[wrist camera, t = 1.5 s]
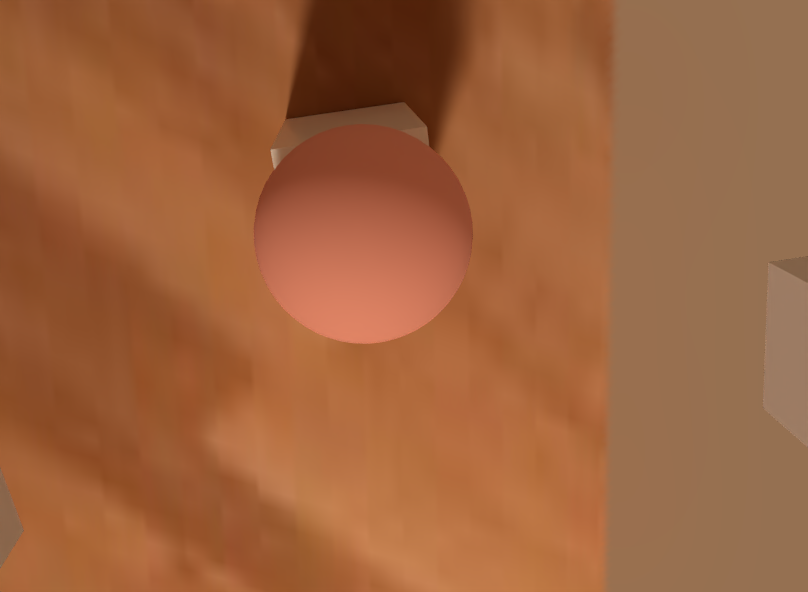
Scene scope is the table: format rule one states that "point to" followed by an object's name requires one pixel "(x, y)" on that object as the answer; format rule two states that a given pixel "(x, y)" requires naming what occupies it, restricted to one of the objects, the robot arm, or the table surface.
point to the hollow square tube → (309, 126)
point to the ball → (363, 233)
